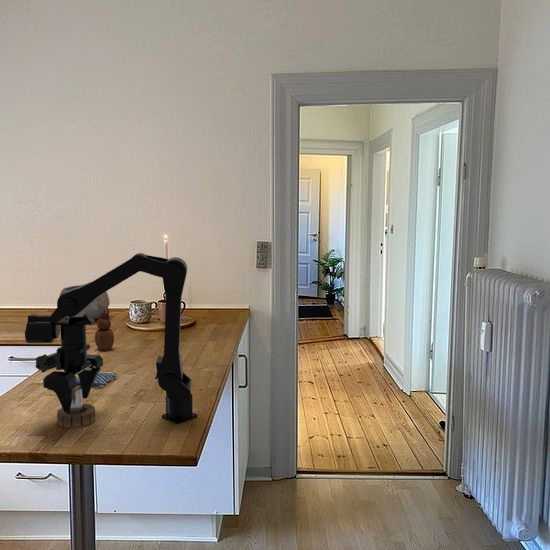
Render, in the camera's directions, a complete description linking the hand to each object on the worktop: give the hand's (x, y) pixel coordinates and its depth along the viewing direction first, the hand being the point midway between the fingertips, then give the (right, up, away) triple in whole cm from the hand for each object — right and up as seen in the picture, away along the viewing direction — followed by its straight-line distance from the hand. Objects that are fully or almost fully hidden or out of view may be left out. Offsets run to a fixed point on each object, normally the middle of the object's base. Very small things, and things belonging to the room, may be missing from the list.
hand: (76, 404), depth 135 cm
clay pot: (-35, +11, +109) cm, 115 cm away
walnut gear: (0, -4, +1) cm, 4 cm away
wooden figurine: (-12, +5, +63) cm, 65 cm away
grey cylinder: (0, -4, +1) cm, 4 cm away
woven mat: (-5, -1, +29) cm, 29 cm away
